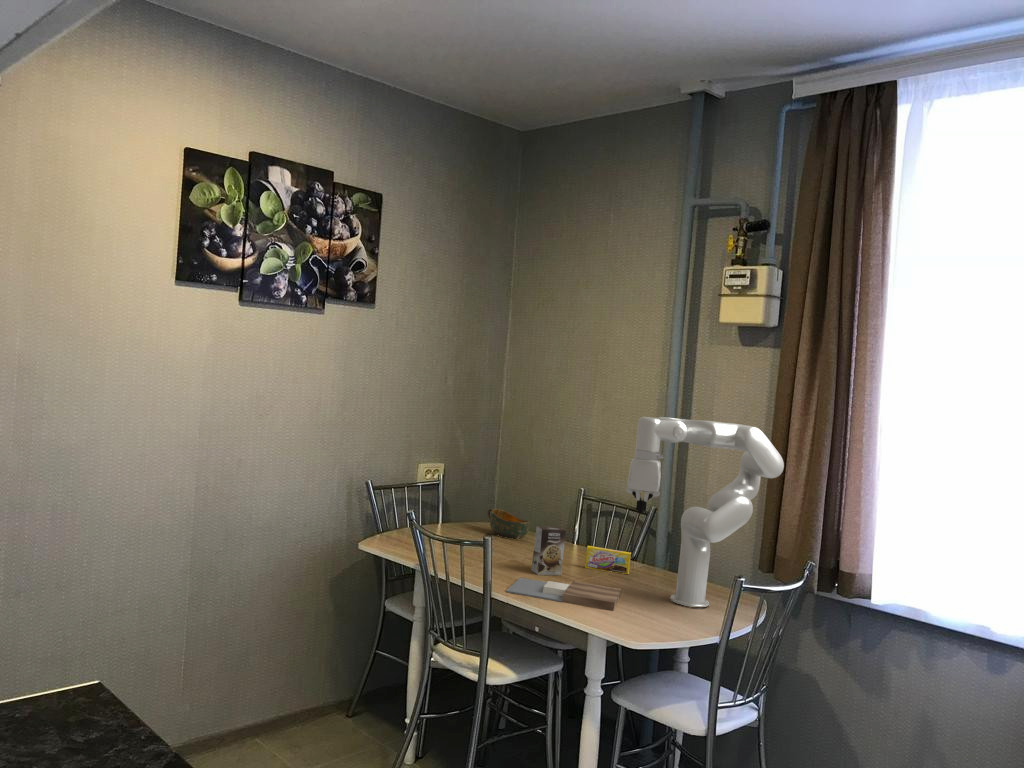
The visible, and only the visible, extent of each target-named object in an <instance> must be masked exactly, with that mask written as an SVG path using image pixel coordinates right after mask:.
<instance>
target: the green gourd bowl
mask: <svg viewBox="0 0 1024 768" xmlns="http://www.w3.org/2000/svg"><path fill="white" fill-rule="evenodd" d="M487 517H488V519H489V523H490V524H489V526H490V529H491V532H492V534H493V533H494V534H496V535H499V536H502V537H501V538H503V537H507V538H513V539H522V540H523V539H524V538H525V537H526V536H527V534H528V533H529V530H530V525H531V524H530V523H531V521H529V520H525V519H522V518H519V517H517V516H515V515H513V514H512V513H510V512H508V511H505V510H503V509H500V508H490V507H489V508H488V509H487ZM494 534H493V535H494ZM496 535H495V536H496ZM499 536H498V537H499ZM507 538H506V539H507ZM513 539H512V540H513Z"/></svg>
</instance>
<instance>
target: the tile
mask: <svg viewBox="0 0 1024 768" xmlns="http://www.w3.org/2000/svg"><path fill="white" fill-rule="evenodd" d="M546 582H547V583H546V584H545V585H544V588H543V593H548V594H553V595H559V596H563V593H564V592H565V591H566V589H567V588H568V587H569V586H570V584H571V583H570V584H568V583H563V582H557V581H552V580H548V581H546Z"/></svg>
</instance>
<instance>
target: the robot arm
mask: <svg viewBox="0 0 1024 768" xmlns="http://www.w3.org/2000/svg"><path fill="white" fill-rule="evenodd" d="M635 440H636V441H635V450H634V457H633V458H632V459H631V462H630V464H629V465H630V466H629V472H628V475H627V476H628V477H627V482H626V483H627V486H626V489H625V492H626V493H627V494H630V495H632V496H633V497H634V498H635V499H636V508H635V510H636V511H637V514H641V515H643V514H644V512H646V511H647V504H648V501H649V500H650V499H652V498H656V497H660V495H661V493H660V488H661V481H662V480H661V478H662V477H661V476H662V464H661V461H660V460H661V459H664V454H663V453H661V452H660V447H661V445H660V444H661V441H662V442H663V441H664V442H668V443H672V444H673V443H674V444H675V443H682V442H683V443H687V444H692V445H695V446H701V447H706V448H713V449H714V448H715V449H727V450H737V451H742V452H743V454H742V455H741V458H740V463H739V465H740V466H739V472H738V475H737V477H736V478H734V480H732V481H731V482H730V483H728V484H727V485H725V486H724V487H722V488H721V489H719V491H717V492H715V493H714V494H713V495H711V497H710V498H709V500H708V508H709V509H707V508H704V507H701V506H692V507H688V508H687V509H686V510H685V511H684V512H683V513H682V515H681V518H680V519H681V520H680V532H681V538H680V539H681V542H680V543H681V544H680V552H679V553H680V554H679V559H678V570H677V579H676V588H675V593H674V594H672V595H670V597H669V599H671V600H670V601H671V602H672V601H673V602H675V603H678V604H681V605H685V606H691V607H706V606H708V605H709V606H710V602H709V600H707V599H706V594H707V593H706V592H707V585H708V584H707V583H708V575H709V567H710V566H709V565H710V558H711V543H713V544H714V543H718V542H721V541H723V540H725V539H726V538H727V537H729V536H731V535H732V534H734V533H735V532H736V531H737V530H739V529H740V528H741V527H743V526H744V525H746V524H747V523H748V522H749V520H750V519H751V517H752V515H753V513H754V506H753V503H752V500H753V499H755V497H756V496H757V495H758V493H759V490H760V486H761V477H762V478H763V477H764V478H767V479H775V478H778V477H780V476H781V475H782V473H783V471H784V468H785V462H784V459H783V457H782V455H781V454H780V453H779V451H778V450H777V449H776V447H775V446H774V444H773V443H772V442H771V441H770V439H769V438H768V437H767V435H766V434H765V433H764V432H763V431H762V430H761V429H760V428H758V427H756V426H752V425H745V424H741V423H739V424H738V423H733V422H732V423H731V422H723V421H712V420H702V419H699V420H698V419H684V418H675V417H674V418H673V417H665V416H660V417H659V416H658V417H653V416H652V417H649V416H641V417H639V419H638V421H637V431H636V439H635ZM642 492H643V493H644V496H643V499H642V498H641V497H642V496H641V495H642V494H641V493H642ZM673 602H672V603H673ZM675 603H674V604H675ZM678 604H677V605H678ZM681 605H680V606H681ZM685 606H684V607H685ZM691 607H690V608H691Z"/></svg>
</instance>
